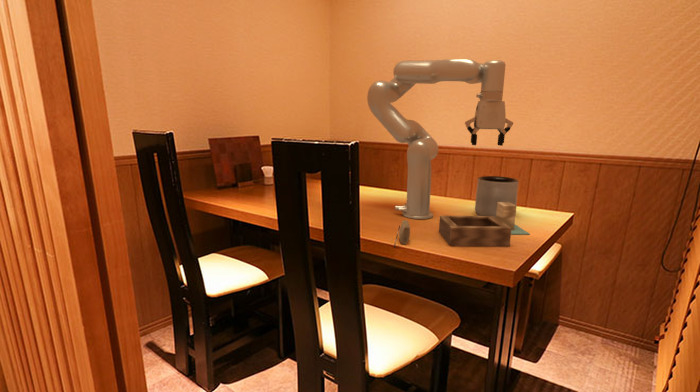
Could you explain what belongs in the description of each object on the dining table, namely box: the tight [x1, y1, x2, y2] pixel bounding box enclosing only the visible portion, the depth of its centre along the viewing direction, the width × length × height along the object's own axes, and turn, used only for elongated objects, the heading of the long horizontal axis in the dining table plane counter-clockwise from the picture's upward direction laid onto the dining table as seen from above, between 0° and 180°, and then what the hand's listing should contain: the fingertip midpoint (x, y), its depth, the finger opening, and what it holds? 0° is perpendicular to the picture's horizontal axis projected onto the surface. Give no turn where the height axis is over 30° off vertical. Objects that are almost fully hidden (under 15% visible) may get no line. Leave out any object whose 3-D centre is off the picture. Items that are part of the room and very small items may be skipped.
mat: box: [511, 224, 531, 236], centre depth 137 cm, size 12×14×1 cm
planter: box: [474, 175, 519, 217], centre depth 155 cm, size 16×16×16 cm
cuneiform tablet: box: [393, 219, 411, 248], centre depth 121 cm, size 7×4×12 cm
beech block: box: [496, 202, 517, 230], centre depth 136 cm, size 4×6×9 cm
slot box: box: [438, 214, 512, 248], centre depth 124 cm, size 19×15×6 cm
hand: (486, 145), depth 136 cm, fingers open, 9 cm apart
